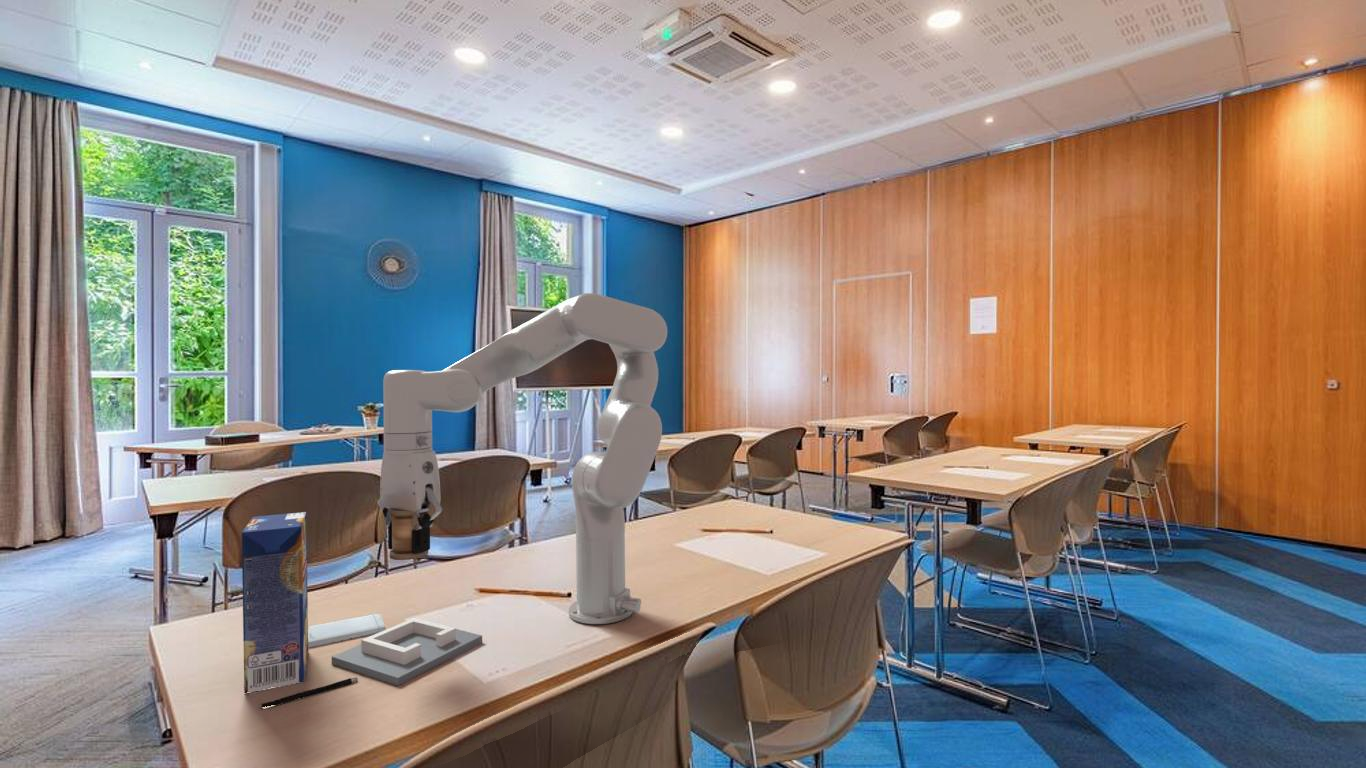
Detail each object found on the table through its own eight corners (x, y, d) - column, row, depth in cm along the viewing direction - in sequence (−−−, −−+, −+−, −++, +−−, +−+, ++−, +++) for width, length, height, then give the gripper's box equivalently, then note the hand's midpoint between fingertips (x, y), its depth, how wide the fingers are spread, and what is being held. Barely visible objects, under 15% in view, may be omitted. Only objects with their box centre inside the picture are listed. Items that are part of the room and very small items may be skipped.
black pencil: (356, 681, 95) (356, 675, 95) (358, 684, 94) (358, 677, 94) (261, 709, 87) (261, 702, 87) (262, 712, 86) (262, 705, 86)
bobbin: (435, 552, 105) (435, 506, 105) (405, 562, 100) (405, 513, 100) (412, 548, 108) (412, 503, 108) (381, 557, 103) (381, 509, 103)
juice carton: (303, 682, 94) (301, 526, 94) (244, 694, 91) (241, 532, 90) (308, 652, 105) (306, 511, 104) (255, 662, 101) (253, 516, 101)
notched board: (482, 642, 108) (482, 624, 108) (397, 685, 93) (397, 664, 93) (419, 626, 115) (419, 609, 115) (331, 663, 100) (331, 644, 100)
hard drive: (306, 641, 106) (385, 625, 113) (304, 626, 113) (379, 611, 120) (306, 651, 106) (385, 634, 113) (305, 635, 113) (379, 620, 120)
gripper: (461, 442, 103) (462, 550, 104) (394, 438, 111) (395, 538, 112) (424, 447, 97) (425, 562, 97) (355, 442, 105) (356, 548, 105)
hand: (409, 548), depth 104 cm, fingers closed on bobbin, 5 cm apart
